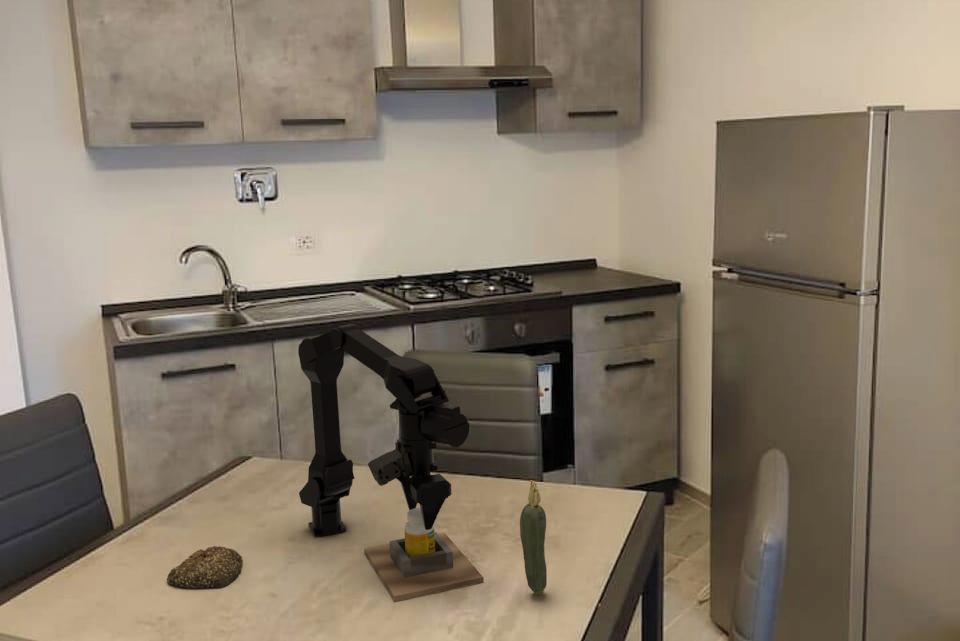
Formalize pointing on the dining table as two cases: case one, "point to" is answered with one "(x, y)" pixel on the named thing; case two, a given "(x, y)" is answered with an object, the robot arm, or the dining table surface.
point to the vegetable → (534, 541)
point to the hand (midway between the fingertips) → (420, 519)
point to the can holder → (422, 568)
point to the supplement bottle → (418, 535)
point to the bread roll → (207, 569)
